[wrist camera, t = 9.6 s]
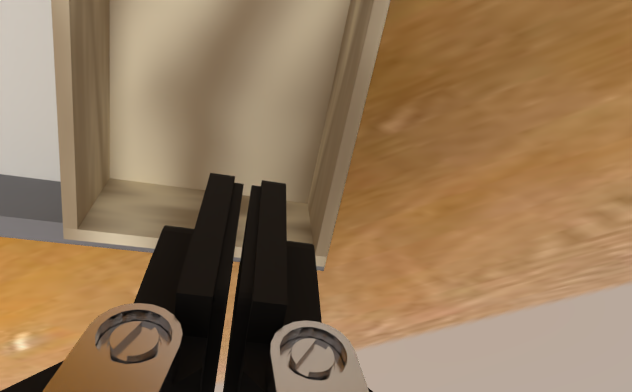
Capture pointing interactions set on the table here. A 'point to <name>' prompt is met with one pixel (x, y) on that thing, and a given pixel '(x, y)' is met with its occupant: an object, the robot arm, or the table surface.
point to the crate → (207, 109)
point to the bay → (32, 128)
